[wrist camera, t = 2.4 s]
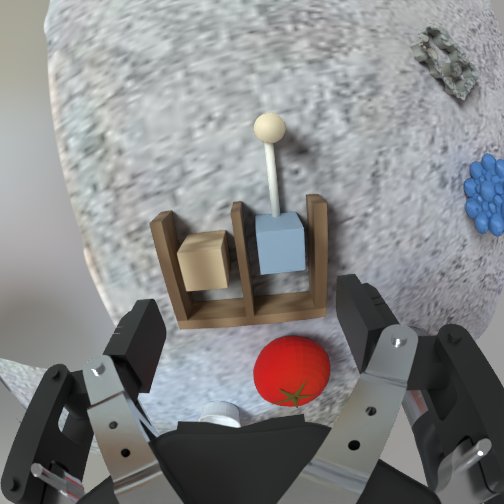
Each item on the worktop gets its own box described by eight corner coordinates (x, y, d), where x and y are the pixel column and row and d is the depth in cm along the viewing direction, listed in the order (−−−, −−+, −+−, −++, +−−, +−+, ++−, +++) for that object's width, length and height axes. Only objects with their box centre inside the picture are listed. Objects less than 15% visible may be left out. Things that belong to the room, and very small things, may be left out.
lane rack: (317, 193, 33) (326, 202, 29) (319, 298, 39) (325, 316, 35) (161, 212, 34) (149, 223, 30) (186, 310, 40) (180, 329, 36)
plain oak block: (225, 229, 35) (220, 248, 30) (231, 264, 37) (227, 287, 32) (188, 234, 35) (176, 253, 30) (195, 267, 38) (186, 291, 32)
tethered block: (286, 115, 29) (294, 111, 23) (297, 248, 36) (305, 269, 30) (243, 118, 29) (241, 115, 24) (259, 252, 36) (260, 274, 31)
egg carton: (402, 49, 24) (417, 43, 21) (423, 24, 22) (438, 17, 18) (451, 104, 27) (468, 104, 23) (468, 76, 24) (485, 75, 21)
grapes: (469, 224, 34) (516, 255, 23) (445, 212, 34) (495, 244, 23) (488, 161, 30) (540, 178, 19) (465, 143, 29) (521, 157, 18)
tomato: (244, 364, 45) (242, 413, 36) (272, 314, 41) (276, 365, 31) (301, 377, 47) (308, 423, 38) (334, 331, 42) (351, 379, 33)
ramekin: (240, 420, 54) (239, 435, 50) (201, 417, 54) (199, 432, 50) (241, 400, 50) (241, 417, 46) (199, 396, 50) (196, 413, 46)
